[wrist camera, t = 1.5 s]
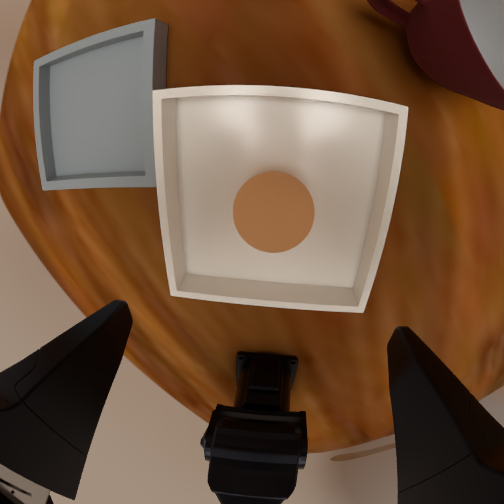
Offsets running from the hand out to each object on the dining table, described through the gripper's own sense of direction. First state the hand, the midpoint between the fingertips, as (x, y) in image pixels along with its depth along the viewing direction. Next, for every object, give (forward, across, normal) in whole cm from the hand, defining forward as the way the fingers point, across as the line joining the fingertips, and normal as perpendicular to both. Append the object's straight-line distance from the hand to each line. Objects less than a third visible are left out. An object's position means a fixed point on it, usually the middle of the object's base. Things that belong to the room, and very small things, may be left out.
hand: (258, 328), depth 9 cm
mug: (+14, -10, -12) cm, 21 cm away
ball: (+10, 0, 0) cm, 10 cm away
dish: (+13, 0, 0) cm, 13 cm away
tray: (+13, +14, -6) cm, 20 cm away
